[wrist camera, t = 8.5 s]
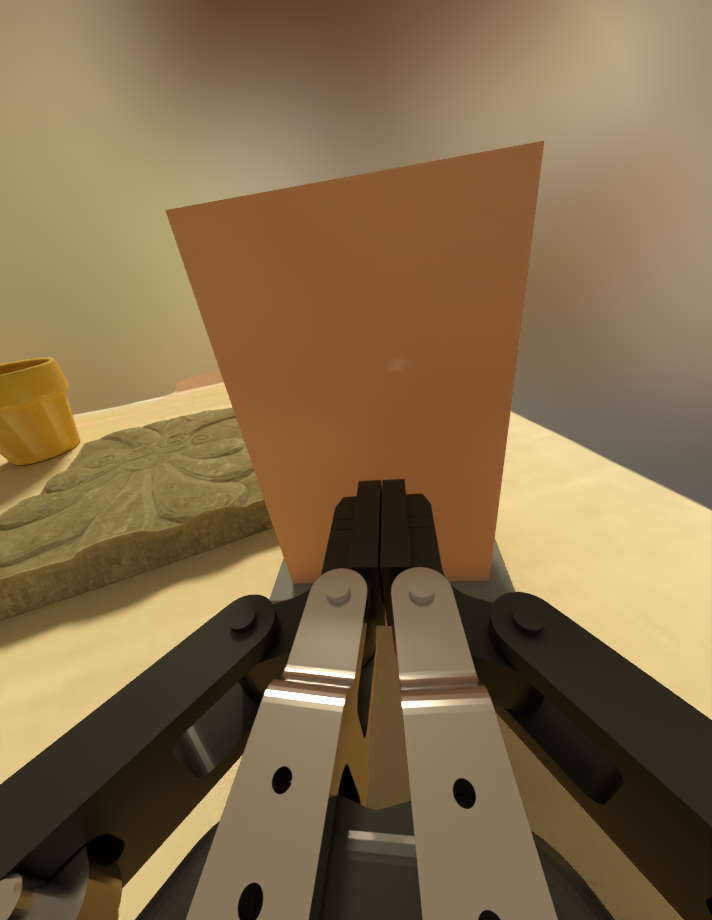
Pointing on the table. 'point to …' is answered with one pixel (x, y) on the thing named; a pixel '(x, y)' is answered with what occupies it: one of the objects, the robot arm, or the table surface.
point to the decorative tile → (130, 509)
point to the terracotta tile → (372, 339)
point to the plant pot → (34, 412)
